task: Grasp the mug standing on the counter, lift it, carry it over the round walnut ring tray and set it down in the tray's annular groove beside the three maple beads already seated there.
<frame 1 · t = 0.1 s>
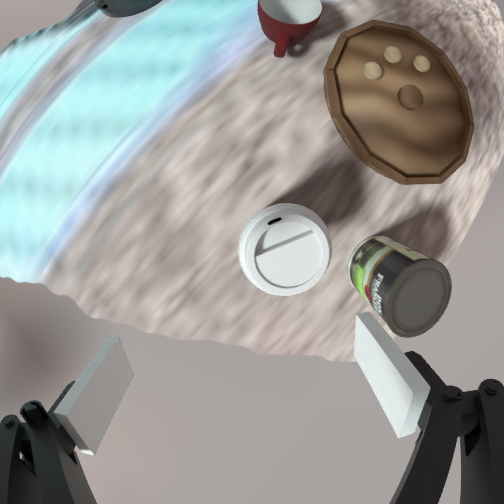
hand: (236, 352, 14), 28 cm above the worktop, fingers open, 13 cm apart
mug: (281, 41, 34), on the worktop
coffee can: (375, 266, 43), on the worktop
coffee cup: (274, 228, 41), on the worktop
bead b: (388, 57, 33), point 1 cm above the worktop, touching ring tray
bead a: (417, 66, 33), point 1 cm above the worktop, touching ring tray
bead c: (368, 73, 34), point 1 cm above the worktop, touching ring tray
ring tray: (404, 100, 36), on the worktop
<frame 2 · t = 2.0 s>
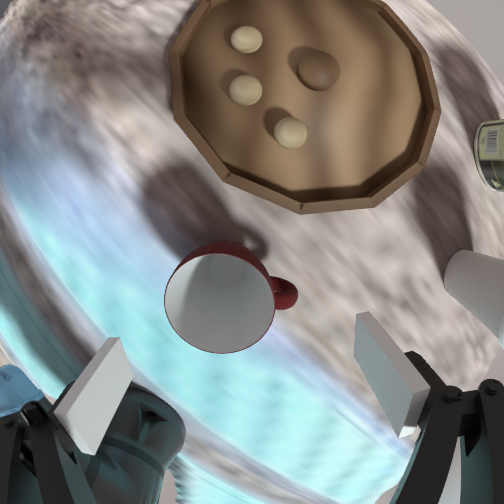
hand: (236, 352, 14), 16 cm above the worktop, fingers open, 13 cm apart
mug: (239, 266, 30), on the worktop
coffee can: (493, 155, 27), on the worktop
coffee cup: (459, 272, 31), on the worktop
bead b: (245, 94, 24), point 1 cm above the worktop, touching ring tray
bead a: (246, 45, 23), point 1 cm above the worktop, touching ring tray
bead c: (288, 135, 25), point 1 cm above the worktop, touching ring tray
ring tray: (313, 77, 25), on the worktop
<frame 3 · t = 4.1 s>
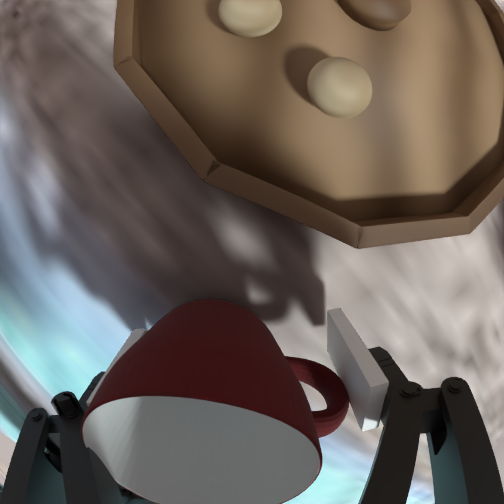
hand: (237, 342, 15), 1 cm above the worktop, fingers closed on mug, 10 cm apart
mug: (237, 329, 17), on the worktop, touching gripper
bead b: (249, 24, 11), point 1 cm above the worktop, touching ring tray
bead c: (330, 95, 12), point 1 cm above the worktop, touching ring tray
ring tray: (362, 14, 12), on the worktop
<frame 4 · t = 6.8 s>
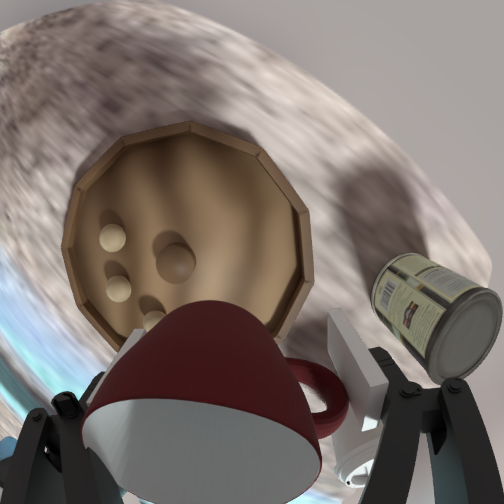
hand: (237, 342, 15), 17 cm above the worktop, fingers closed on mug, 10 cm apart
mug: (237, 330, 17), point 15 cm above the worktop, touching gripper
coffee can: (404, 289, 33), on the worktop
coffee cup: (344, 394, 37), on the worktop
bead b: (123, 284, 30), point 1 cm above the worktop, touching ring tray
bead a: (118, 235, 29), point 1 cm above the worktop, touching ring tray
bead c: (159, 317, 31), point 1 cm above the worktop, touching ring tray
ring tray: (180, 257, 31), on the worktop
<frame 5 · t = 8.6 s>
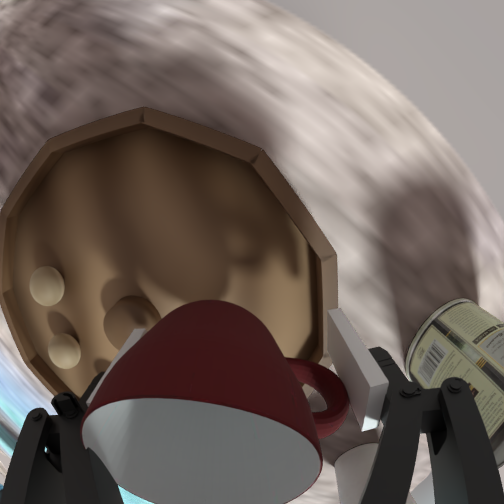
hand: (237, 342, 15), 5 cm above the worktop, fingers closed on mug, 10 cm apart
mug: (237, 330, 17), point 4 cm above the worktop, touching gripper
coffee can: (445, 343, 22), on the worktop
coffee cup: (358, 456, 26), on the worktop
bead b: (72, 342, 20), point 1 cm above the worktop, touching ring tray
bead a: (57, 279, 18), point 1 cm above the worktop, touching ring tray
ring tray: (142, 313, 20), on the worktop
when the fingers open (4 cm above the worktop, at t = 9.8 s): mug drops 1 cm, resting on ring tray.
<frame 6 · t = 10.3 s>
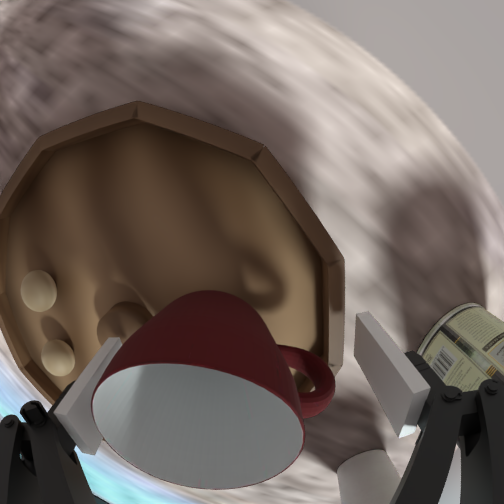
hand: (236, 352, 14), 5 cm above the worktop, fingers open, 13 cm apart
mug: (235, 320, 18), point 1 cm above the worktop, touching ring tray
coffee can: (452, 348, 21), on the worktop
coffee cup: (361, 463, 25), on the worktop
bead b: (66, 348, 19), point 1 cm above the worktop, touching ring tray
bead a: (49, 283, 17), point 1 cm above the worktop, touching ring tray
ring tray: (137, 319, 19), on the worktop
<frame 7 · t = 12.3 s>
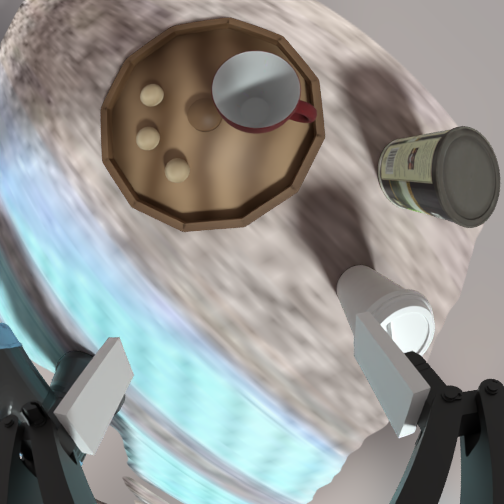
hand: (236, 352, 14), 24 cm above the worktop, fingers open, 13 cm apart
mug: (265, 112, 32), point 1 cm above the worktop, touching ring tray
coffee can: (407, 173, 34), on the worktop
coffee cup: (357, 286, 39), on the worktop
bead b: (152, 139, 33), point 1 cm above the worktop, touching ring tray
bead a: (155, 98, 31), point 1 cm above the worktop, touching ring tray
bead c: (180, 170, 34), point 1 cm above the worktop, touching ring tray
ring tray: (207, 118, 33), on the worktop
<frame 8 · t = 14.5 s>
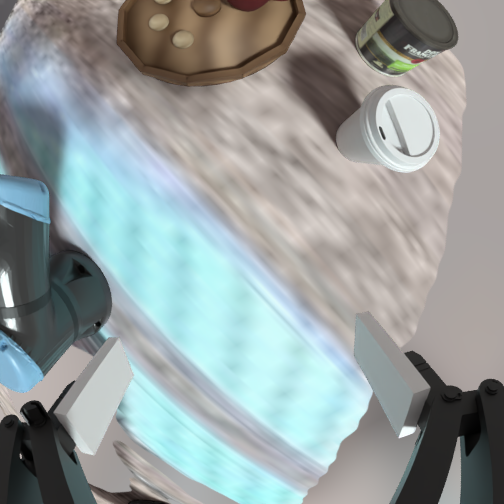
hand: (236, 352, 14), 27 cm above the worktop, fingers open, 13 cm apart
mug: (256, 4, 30), point 1 cm above the worktop, touching ring tray
coffee can: (383, 50, 33), on the worktop
coffee cup: (356, 140, 37), on the worktop
bead b: (161, 26, 30), point 1 cm above the worktop, touching ring tray
bead a: (165, 1, 29), point 1 cm above the worktop, touching ring tray
bead c: (185, 43, 32), point 1 cm above the worktop, touching ring tray
ring tray: (208, 11, 31), on the worktop
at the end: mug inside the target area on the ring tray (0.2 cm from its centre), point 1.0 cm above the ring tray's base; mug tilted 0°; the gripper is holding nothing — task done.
